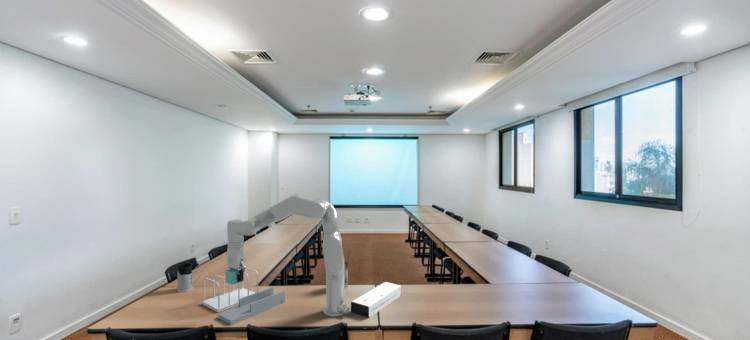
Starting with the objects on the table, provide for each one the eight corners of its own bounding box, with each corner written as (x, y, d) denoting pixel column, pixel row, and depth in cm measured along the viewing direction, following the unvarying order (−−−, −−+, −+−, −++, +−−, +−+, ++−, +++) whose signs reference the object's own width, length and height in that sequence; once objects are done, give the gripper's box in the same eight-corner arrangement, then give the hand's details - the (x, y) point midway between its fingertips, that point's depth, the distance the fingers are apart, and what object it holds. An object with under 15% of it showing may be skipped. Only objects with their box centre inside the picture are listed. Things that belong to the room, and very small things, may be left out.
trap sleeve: (285, 302, 184) (284, 291, 184) (231, 325, 158) (230, 312, 158) (271, 296, 191) (271, 286, 191) (218, 318, 165) (217, 306, 165)
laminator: (368, 318, 164) (368, 306, 164) (349, 312, 171) (349, 301, 171) (401, 295, 193) (401, 285, 193) (383, 291, 200) (383, 281, 200)
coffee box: (338, 291, 198) (338, 265, 198) (330, 289, 202) (330, 263, 202) (348, 287, 206) (348, 261, 205) (340, 284, 210) (340, 259, 209)
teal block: (243, 281, 166) (243, 269, 166) (232, 284, 161) (231, 272, 161) (236, 278, 170) (236, 267, 170) (225, 282, 165) (225, 270, 165)
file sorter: (217, 313, 171) (217, 283, 171) (201, 304, 181) (200, 276, 181) (259, 297, 191) (259, 270, 191) (242, 290, 201) (242, 265, 201)
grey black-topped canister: (177, 288, 205) (176, 264, 204) (203, 284, 211) (202, 261, 211) (176, 293, 197) (176, 268, 197) (203, 289, 204) (202, 265, 203)
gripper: (219, 243, 168) (220, 278, 169) (238, 248, 158) (239, 285, 158) (233, 240, 174) (234, 274, 175) (252, 245, 164) (253, 281, 164)
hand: (236, 279), depth 166 cm, fingers closed on teal block, 6 cm apart
